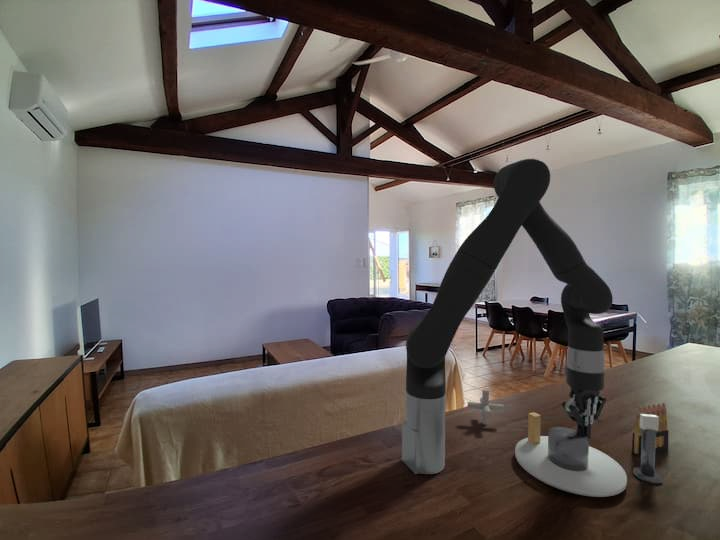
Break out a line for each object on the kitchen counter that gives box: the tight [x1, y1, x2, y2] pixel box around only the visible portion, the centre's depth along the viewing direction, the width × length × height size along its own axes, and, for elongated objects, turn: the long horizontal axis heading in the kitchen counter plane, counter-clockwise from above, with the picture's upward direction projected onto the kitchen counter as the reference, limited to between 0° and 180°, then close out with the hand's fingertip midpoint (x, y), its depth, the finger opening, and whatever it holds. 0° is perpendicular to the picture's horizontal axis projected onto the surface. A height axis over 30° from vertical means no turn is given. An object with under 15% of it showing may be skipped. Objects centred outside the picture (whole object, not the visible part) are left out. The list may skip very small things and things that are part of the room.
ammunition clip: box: [631, 402, 669, 457], centre depth 88 cm, size 11×2×12 cm, turn 108°
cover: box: [547, 426, 590, 471], centre depth 80 cm, size 8×8×6 cm
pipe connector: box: [467, 388, 505, 426], centre depth 103 cm, size 10×10×10 cm
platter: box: [514, 411, 628, 498], centre depth 80 cm, size 22×22×8 cm
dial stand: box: [632, 414, 663, 485], centre depth 78 cm, size 5×5×14 cm
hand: (584, 438), depth 83 cm, fingers closed
